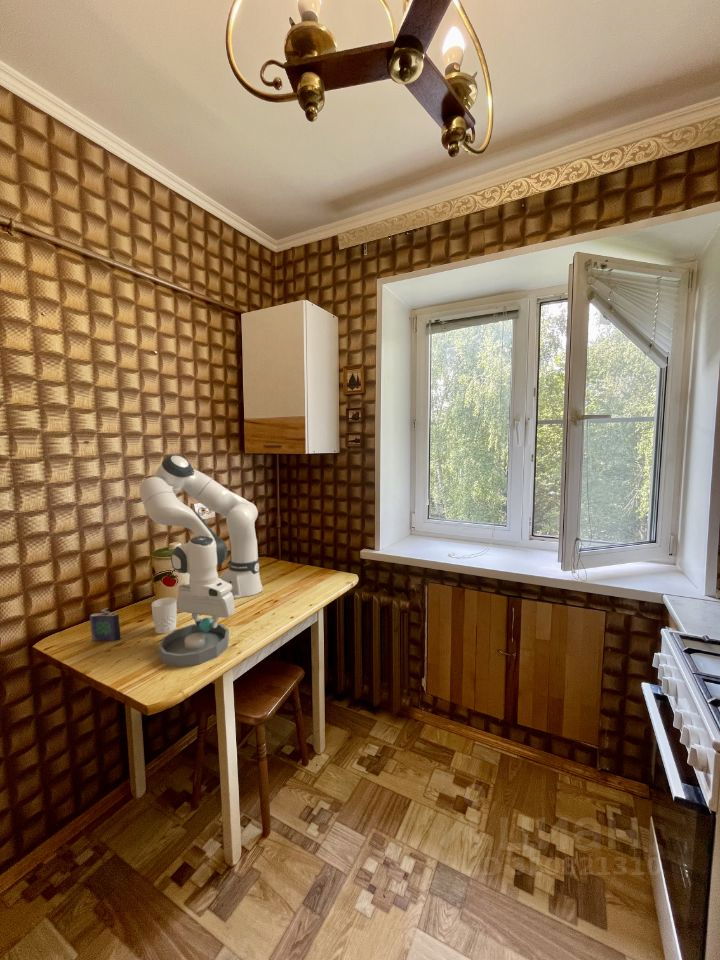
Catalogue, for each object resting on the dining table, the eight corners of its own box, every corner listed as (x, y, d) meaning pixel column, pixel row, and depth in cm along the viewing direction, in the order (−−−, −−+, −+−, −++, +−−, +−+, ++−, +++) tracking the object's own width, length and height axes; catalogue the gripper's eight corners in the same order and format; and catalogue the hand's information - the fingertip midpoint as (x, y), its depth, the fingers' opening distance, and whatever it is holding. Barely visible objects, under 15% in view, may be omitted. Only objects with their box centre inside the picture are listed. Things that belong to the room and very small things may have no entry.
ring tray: (144, 661, 115) (143, 650, 115) (191, 629, 134) (190, 620, 134) (200, 671, 110) (200, 659, 109) (240, 636, 129) (240, 626, 128)
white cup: (161, 623, 139) (159, 597, 138) (182, 624, 139) (180, 597, 138) (148, 634, 131) (146, 606, 130) (170, 635, 131) (168, 606, 130)
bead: (196, 633, 126) (195, 620, 125) (205, 627, 130) (204, 614, 130) (208, 635, 125) (207, 622, 124) (216, 628, 129) (215, 615, 128)
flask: (90, 642, 127) (87, 611, 126) (96, 637, 130) (93, 607, 129) (117, 641, 127) (115, 610, 126) (123, 637, 130) (121, 606, 129)
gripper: (171, 586, 126) (173, 626, 127) (224, 592, 120) (226, 634, 121) (185, 579, 132) (187, 618, 133) (236, 585, 126) (238, 625, 127)
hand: (206, 626), depth 127 cm, fingers closed on bead, 4 cm apart
